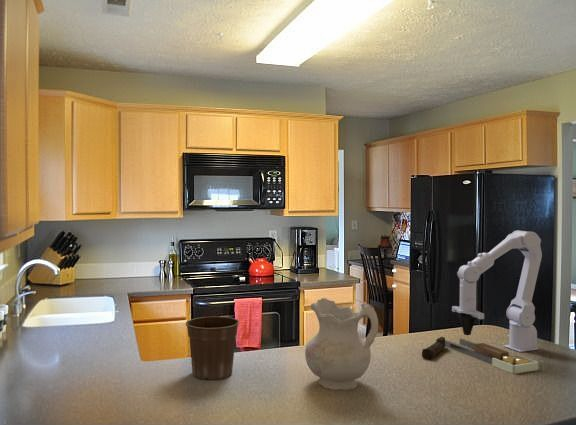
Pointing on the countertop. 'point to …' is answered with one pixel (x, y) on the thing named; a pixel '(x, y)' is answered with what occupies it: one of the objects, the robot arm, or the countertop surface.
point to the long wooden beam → (490, 350)
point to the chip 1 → (508, 359)
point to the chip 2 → (520, 360)
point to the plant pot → (212, 346)
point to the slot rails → (468, 350)
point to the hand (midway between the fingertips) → (467, 334)
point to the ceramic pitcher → (340, 345)
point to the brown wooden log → (434, 349)
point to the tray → (515, 369)
